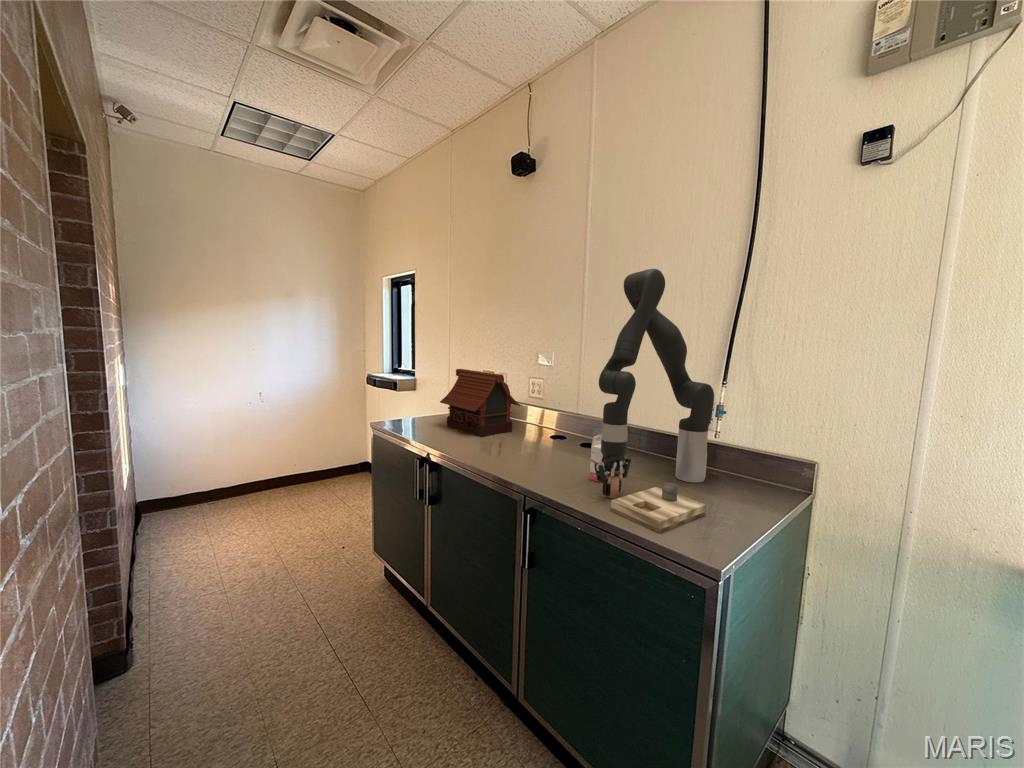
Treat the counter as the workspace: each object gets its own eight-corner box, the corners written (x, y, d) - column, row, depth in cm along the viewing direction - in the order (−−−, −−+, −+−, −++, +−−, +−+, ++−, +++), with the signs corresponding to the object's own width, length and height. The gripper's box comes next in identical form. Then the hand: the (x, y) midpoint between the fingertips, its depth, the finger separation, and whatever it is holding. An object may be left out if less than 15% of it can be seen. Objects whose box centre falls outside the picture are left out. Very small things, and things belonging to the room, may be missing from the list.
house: (522, 431, 213) (523, 373, 209) (475, 439, 194) (476, 376, 191) (479, 419, 239) (480, 367, 235) (435, 426, 220) (435, 369, 217)
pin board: (655, 496, 130) (657, 473, 130) (705, 515, 117) (707, 490, 117) (610, 510, 119) (611, 486, 118) (659, 533, 106) (661, 506, 105)
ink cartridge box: (602, 483, 141) (604, 439, 139) (589, 480, 144) (591, 437, 142) (614, 477, 147) (616, 435, 146) (601, 473, 150) (603, 432, 149)
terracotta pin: (611, 492, 132) (611, 473, 131) (621, 496, 129) (622, 477, 128) (601, 495, 130) (602, 476, 129) (612, 499, 126) (613, 479, 126)
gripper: (620, 432, 134) (617, 485, 136) (587, 438, 126) (585, 494, 128) (640, 437, 128) (637, 493, 130) (607, 444, 120) (604, 503, 122)
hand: (611, 493), depth 129 cm, fingers closed on terracotta pin, 4 cm apart
